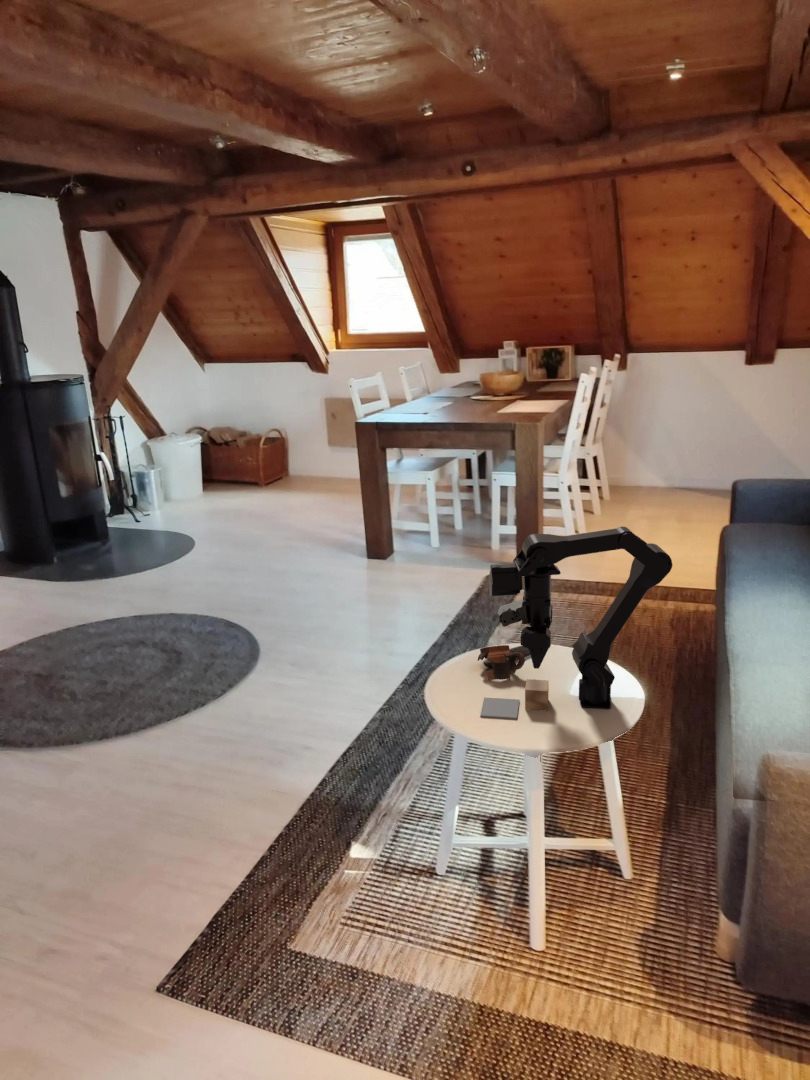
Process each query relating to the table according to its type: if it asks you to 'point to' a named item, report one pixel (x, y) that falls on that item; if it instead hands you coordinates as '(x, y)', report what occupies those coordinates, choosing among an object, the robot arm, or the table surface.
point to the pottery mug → (501, 661)
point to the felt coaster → (500, 708)
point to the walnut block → (536, 694)
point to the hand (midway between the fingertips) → (537, 658)
